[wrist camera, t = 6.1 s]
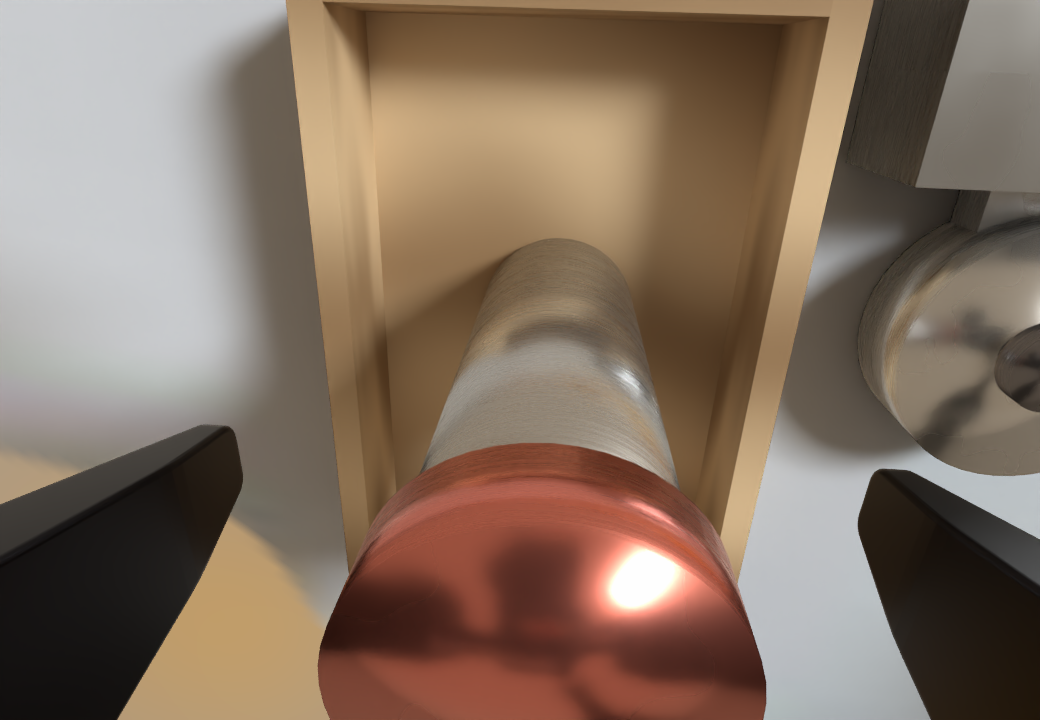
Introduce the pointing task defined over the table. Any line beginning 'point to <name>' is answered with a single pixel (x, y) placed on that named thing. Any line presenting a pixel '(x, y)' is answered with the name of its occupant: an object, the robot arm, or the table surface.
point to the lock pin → (544, 535)
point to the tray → (568, 203)
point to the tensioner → (959, 229)
